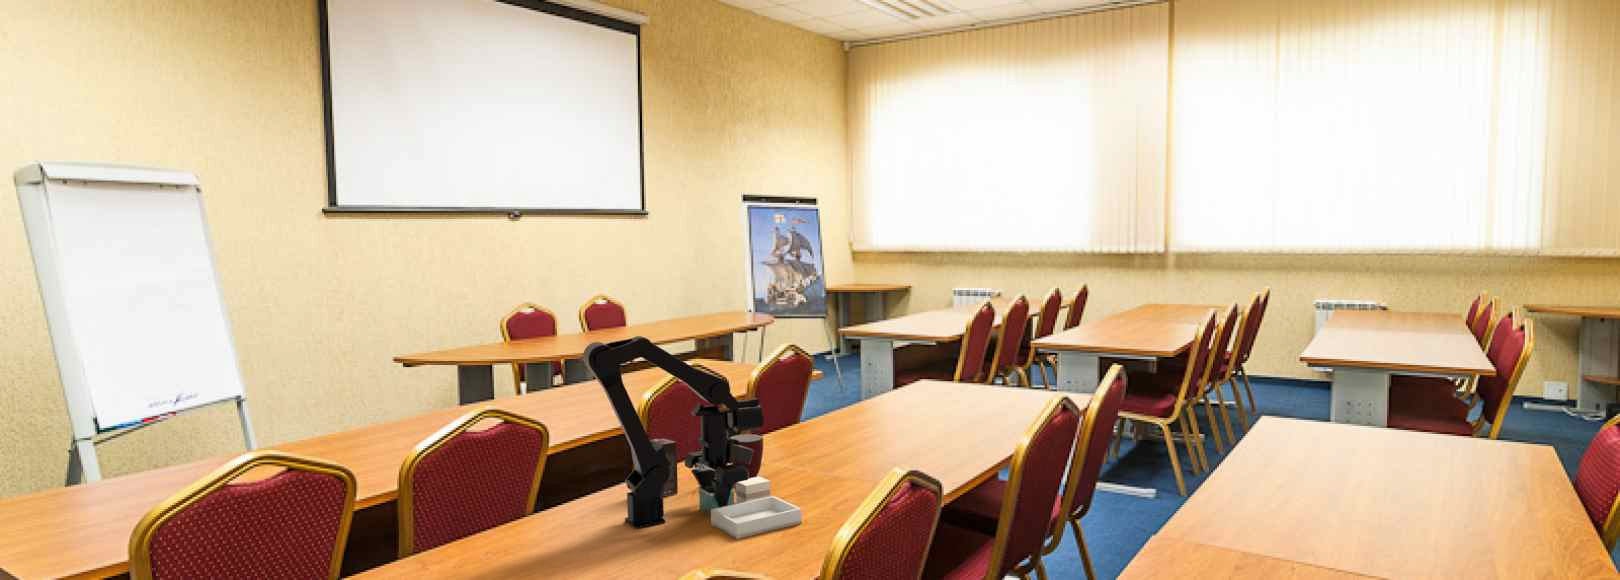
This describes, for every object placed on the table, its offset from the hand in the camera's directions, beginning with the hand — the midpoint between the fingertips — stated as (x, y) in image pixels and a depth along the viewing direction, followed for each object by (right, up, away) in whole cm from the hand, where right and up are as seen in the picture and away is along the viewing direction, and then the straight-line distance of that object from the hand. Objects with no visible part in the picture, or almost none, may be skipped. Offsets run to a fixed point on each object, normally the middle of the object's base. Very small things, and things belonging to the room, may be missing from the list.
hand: (716, 505), depth 190 cm
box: (-14, -1, +14) cm, 20 cm away
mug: (+5, 0, +23) cm, 23 cm away
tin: (0, -1, 0) cm, 1 cm away
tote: (+9, -1, -9) cm, 13 cm away
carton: (+8, -1, +5) cm, 9 cm away
